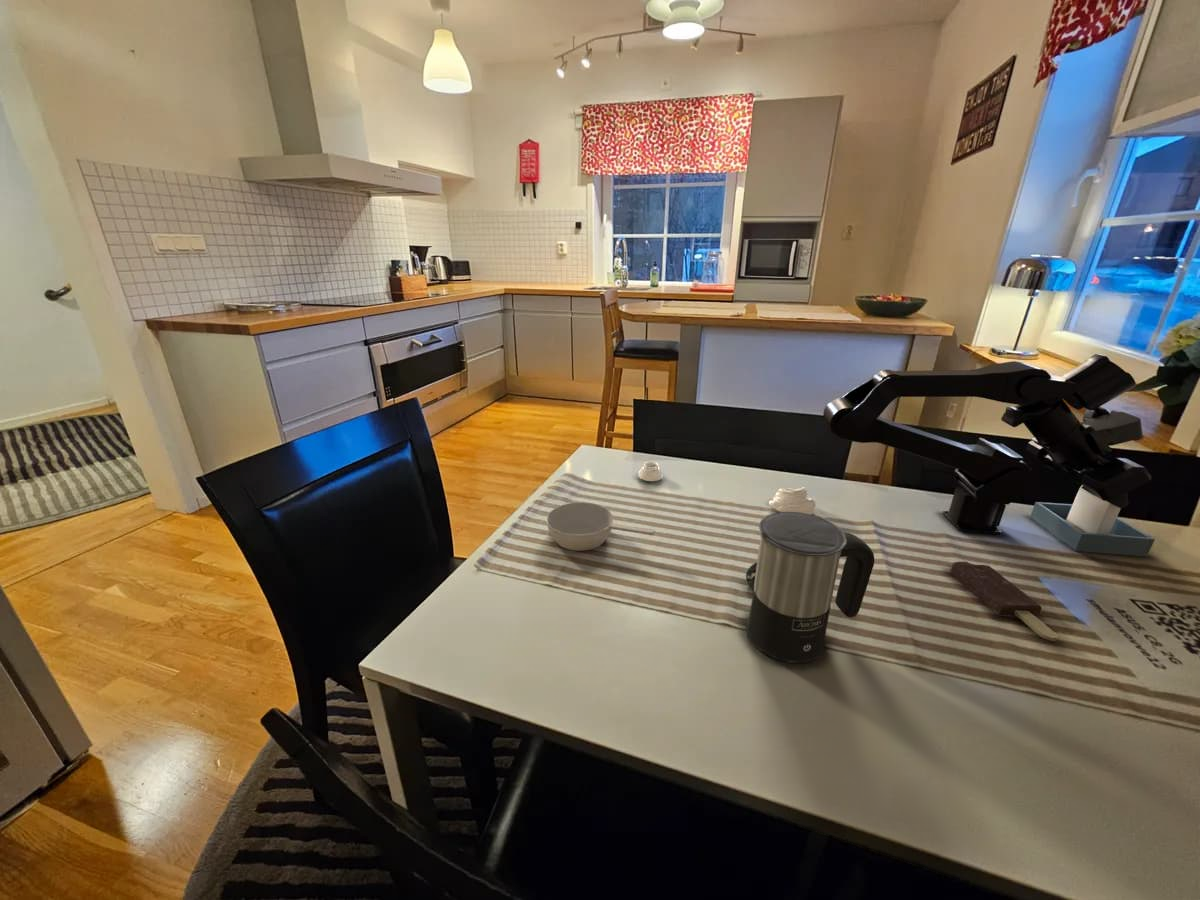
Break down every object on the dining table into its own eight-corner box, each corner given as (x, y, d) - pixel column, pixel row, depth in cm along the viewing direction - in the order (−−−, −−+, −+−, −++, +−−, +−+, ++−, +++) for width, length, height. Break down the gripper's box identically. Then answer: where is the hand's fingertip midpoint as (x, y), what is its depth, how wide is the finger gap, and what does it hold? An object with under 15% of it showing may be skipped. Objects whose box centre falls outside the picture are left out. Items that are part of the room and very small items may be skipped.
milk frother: (784, 676, 54) (806, 562, 49) (695, 595, 67) (704, 497, 62) (868, 634, 60) (896, 529, 55) (772, 567, 73) (786, 477, 68)
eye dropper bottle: (1073, 536, 80) (1102, 469, 76) (1062, 521, 85) (1088, 457, 81) (1108, 543, 79) (1140, 475, 74) (1094, 527, 83) (1123, 462, 79)
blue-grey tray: (1075, 550, 78) (1082, 533, 77) (1029, 517, 88) (1035, 501, 87) (1147, 556, 76) (1155, 539, 75) (1092, 521, 87) (1099, 506, 85)
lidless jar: (662, 473, 105) (638, 472, 105) (662, 460, 104) (639, 459, 104) (662, 483, 100) (638, 482, 101) (663, 470, 99) (638, 468, 100)
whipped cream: (774, 521, 88) (777, 498, 85) (762, 501, 94) (764, 479, 91) (819, 518, 88) (823, 495, 85) (803, 498, 94) (807, 476, 91)
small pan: (565, 515, 87) (564, 496, 86) (662, 536, 81) (664, 515, 80) (535, 545, 78) (534, 524, 77) (643, 571, 72) (644, 549, 70)
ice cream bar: (1072, 644, 59) (980, 570, 73) (1077, 633, 58) (983, 560, 72) (1029, 644, 59) (945, 570, 73) (1034, 633, 58) (948, 561, 72)
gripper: (1164, 413, 66) (1224, 495, 68) (1070, 381, 83) (1121, 447, 85) (1074, 461, 70) (1134, 537, 72) (1003, 422, 87) (1052, 484, 89)
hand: (1109, 497), depth 79 cm, fingers closed on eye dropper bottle, 6 cm apart
